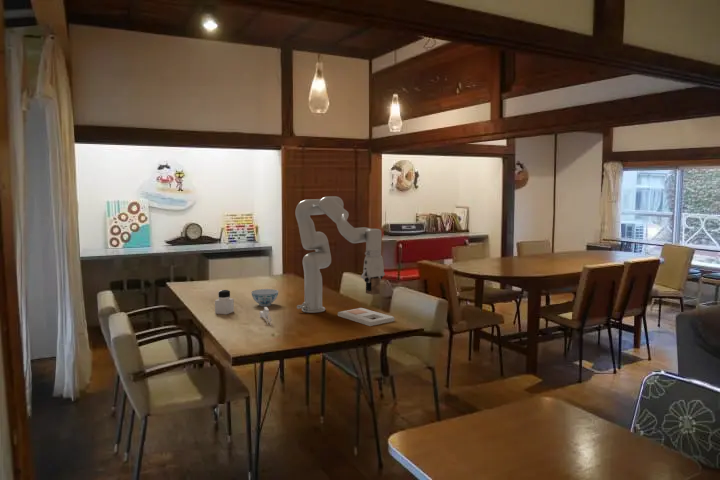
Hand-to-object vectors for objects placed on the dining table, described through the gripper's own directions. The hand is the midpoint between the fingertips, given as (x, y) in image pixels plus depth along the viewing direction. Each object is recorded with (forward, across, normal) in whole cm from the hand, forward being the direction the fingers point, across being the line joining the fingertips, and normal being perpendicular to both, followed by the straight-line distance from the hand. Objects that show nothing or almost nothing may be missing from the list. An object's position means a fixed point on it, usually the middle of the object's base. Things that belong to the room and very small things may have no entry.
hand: (372, 289), depth 267 cm
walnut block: (+2, 0, 0) cm, 2 cm away
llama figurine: (+17, -43, +32) cm, 56 cm away
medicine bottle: (+17, -51, +62) cm, 82 cm away
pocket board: (+16, 0, +6) cm, 17 cm away
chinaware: (+17, -25, +64) cm, 71 cm away
